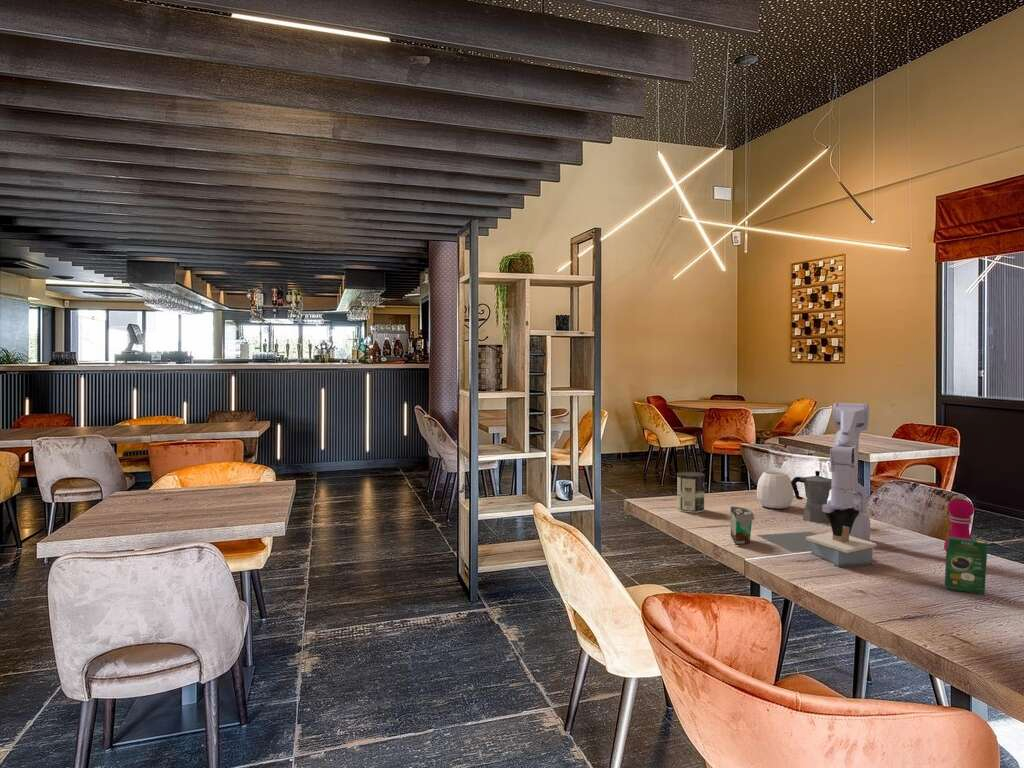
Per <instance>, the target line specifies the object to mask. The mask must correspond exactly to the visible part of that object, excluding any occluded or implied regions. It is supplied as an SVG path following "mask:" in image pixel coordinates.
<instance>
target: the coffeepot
mask: <svg viewBox="0 0 1024 768" xmlns="http://www.w3.org/2000/svg"><path fill="white" fill-rule="evenodd" d="M814 473H815V475H813V476H812V475H811V476H795V477H794V478H793V479H791V485H792V487H793V494H794V496H795V499H797V500H799V501H802V500H803V499H804V496H800V491H799V490H798V485H797V483H802V484H803V486H804V492H805V493H804V494H805V497H806V502H805V506H804V511H803V516H802V520H803V521H804V522H811V523H818V524H823V523H827V524H830V521H829V519H828V517H827V515H826V514H825V512H822V505H825V504H827V503H828V499H829V496H830V493H831V492H830V491H831V481H832V478H828V477H823V476H820V473H821V471H819V470H815V471H814Z"/></svg>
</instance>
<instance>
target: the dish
mask: <svg viewBox="0 0 1024 768" xmlns="http://www.w3.org/2000/svg"><path fill="white" fill-rule="evenodd" d="M873 549H874V548H873V547H872V548H868V549H863V550H859V551H854V552H849V553H845V552H842V551H839V550H836V549H833V548H830V547H827V546H824V545H821V544H818V543H815V542H812V545H811V551H810V552H811V553H810V554H811V555H813V556H815V557H818V558H820V559H822V560H824V561H827V562H829V563H831V564H833V565H834V567H837V568H845V567H858V566H859V565H860V566H869V565H873V553H874V552H873Z"/></svg>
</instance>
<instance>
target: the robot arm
mask: <svg viewBox="0 0 1024 768" xmlns="http://www.w3.org/2000/svg"><path fill="white" fill-rule="evenodd" d="M832 420H833V424H834V425H835V426H834V427H835V428H837V429H838V431H837V432H836V433H835V435H834V436H835V437H834V441H833V446H832V447H830V449H829V463H830V472H831V479H832V481H831V490H830V491H831V492H830V493H831V494H830V499H829V500H828V499H827V504H825V505H822V512H825V514H826V515H827V517H828V519H829V521H830V523H829V524H830V528H831V530H832V531H831V532H833V535H836V536H841V535H842V530H843V526H846V527H850V528H849V536H852V537H856V538H859V539H862V540H866V541H869V542H873V541H872V540H871V519H870V517H869V515H868V514H866V513H867V510H868V509H867V508H868V495H867V494H868V492H867V491H868V490H866V488H865V487H864V486H863V485H862V484H860V483H859V482H858V470H859V469H858V468H859V446H860V445H859V443H860V436H861V432H862V431H865V430H866V431H867V430H868V427H869V420H870V405H869V404H868V403H867V402H865V403H860V402H859V403H856V402H855V403H851V402H838V401H837V402H834V403H833V407H832Z"/></svg>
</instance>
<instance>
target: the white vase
mask: <svg viewBox="0 0 1024 768" xmlns="http://www.w3.org/2000/svg"><path fill="white" fill-rule="evenodd" d="M791 481H792V479H791V477H790V476H789V474H788V473H786V472H783V471H776V470H767V471H763V472H762V474H761V475H760V477H759V479H758V481H757V487H756V498H757V500H758V502H759V504H760V505H761V506H763V507H765V508H769V509H774V508H775V510H777V509H781V510H782V509H787V508H789V507H790V506H791V504H792V502H793V500H794V490H793V487H792V485H791Z"/></svg>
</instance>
